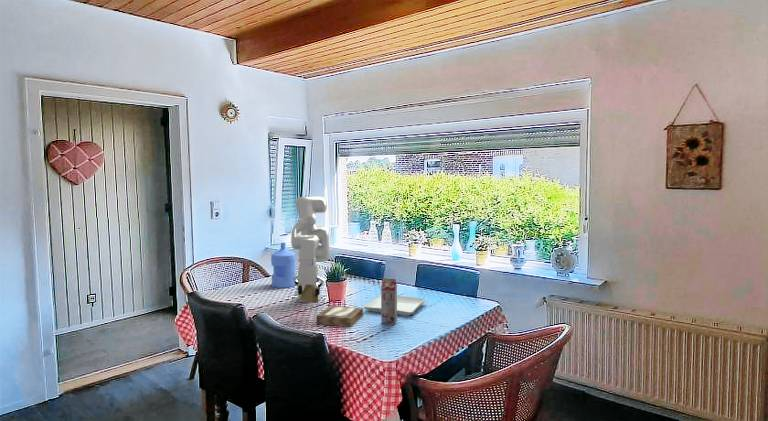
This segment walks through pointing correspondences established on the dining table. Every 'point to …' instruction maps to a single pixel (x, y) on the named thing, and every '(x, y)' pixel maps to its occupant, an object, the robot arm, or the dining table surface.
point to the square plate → (398, 305)
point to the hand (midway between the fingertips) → (308, 294)
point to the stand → (339, 316)
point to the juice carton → (388, 301)
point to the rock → (309, 294)
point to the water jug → (283, 268)
